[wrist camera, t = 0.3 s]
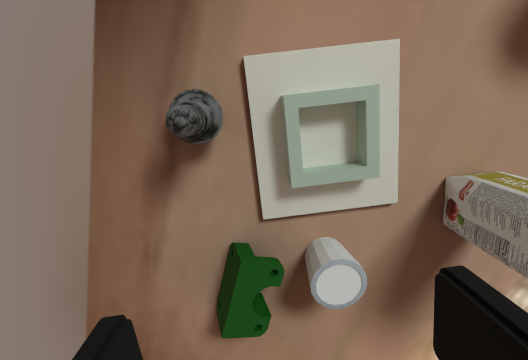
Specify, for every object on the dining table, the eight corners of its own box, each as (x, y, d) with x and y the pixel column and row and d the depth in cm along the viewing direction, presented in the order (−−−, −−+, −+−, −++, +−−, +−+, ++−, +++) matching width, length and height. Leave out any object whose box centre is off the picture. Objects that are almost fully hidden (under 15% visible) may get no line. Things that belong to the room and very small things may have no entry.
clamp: (251, 281, 46) (260, 341, 39) (215, 280, 44) (218, 343, 37) (279, 234, 39) (295, 297, 32) (237, 230, 37) (245, 297, 30)
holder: (243, 57, 33) (242, 51, 29) (395, 40, 34) (414, 32, 30) (262, 216, 38) (264, 229, 35) (393, 200, 39) (410, 210, 35)
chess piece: (180, 85, 34) (144, 76, 22) (229, 97, 34) (220, 94, 23) (172, 134, 35) (136, 149, 23) (220, 144, 36) (207, 164, 24)
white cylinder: (357, 256, 41) (379, 286, 34) (320, 284, 42) (333, 319, 35) (328, 223, 39) (345, 248, 33) (290, 253, 40) (298, 284, 33)
